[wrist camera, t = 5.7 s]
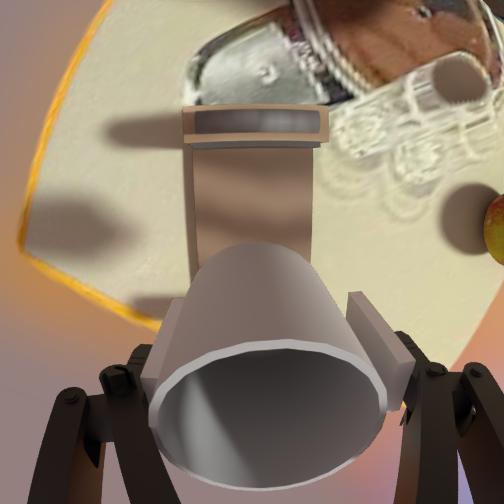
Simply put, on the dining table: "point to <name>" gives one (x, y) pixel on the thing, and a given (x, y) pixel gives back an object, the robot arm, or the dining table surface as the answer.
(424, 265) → the dining table surface
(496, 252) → the fruit
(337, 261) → the dining table surface
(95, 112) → the dining table surface
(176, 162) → the dining table surface
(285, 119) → the block
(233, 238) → the base
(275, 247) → the cup
